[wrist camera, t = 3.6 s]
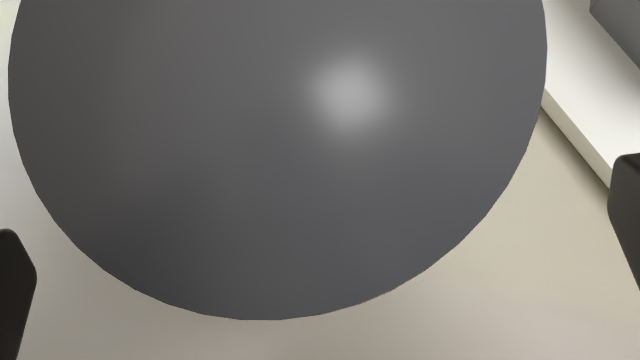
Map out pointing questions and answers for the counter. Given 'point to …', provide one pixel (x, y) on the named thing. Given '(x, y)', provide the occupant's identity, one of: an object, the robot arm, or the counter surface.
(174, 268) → the canister
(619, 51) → the collar
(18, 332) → the robot arm
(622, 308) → the counter surface
